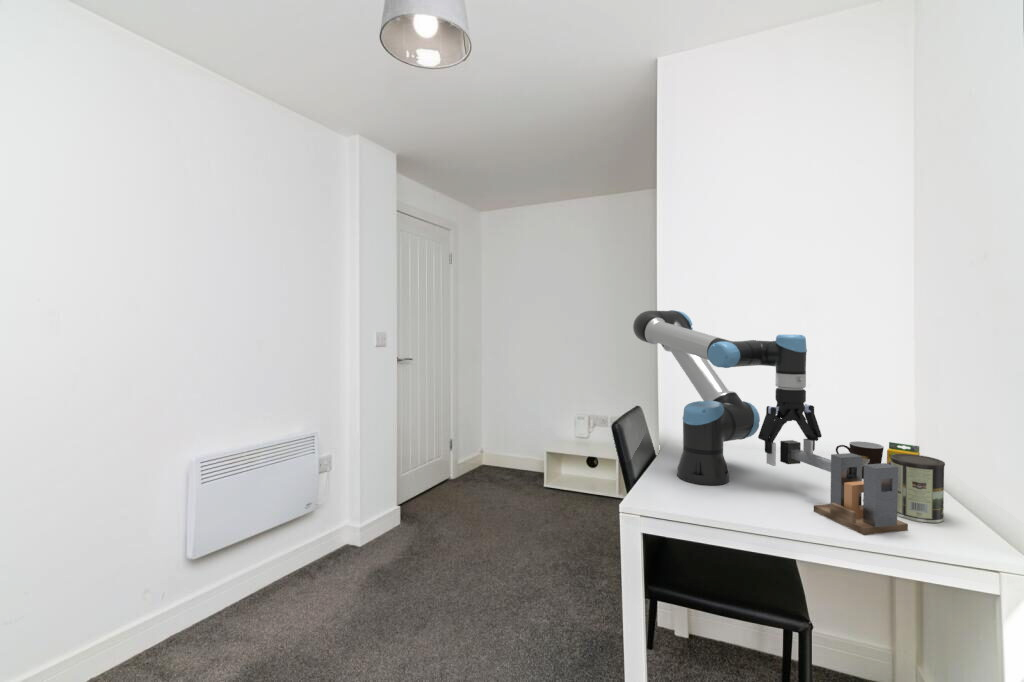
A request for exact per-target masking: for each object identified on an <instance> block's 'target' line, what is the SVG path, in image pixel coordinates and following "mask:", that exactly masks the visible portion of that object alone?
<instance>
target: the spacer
mask: <svg viewBox="0 0 1024 682" xmlns="http://www.w3.org/2000/svg"><path fill="white" fill-rule="evenodd" d="M859 493H862V494H863V493H864V480H862V481H857V482H847V483H844V507H845V508H848V509H850V510H852V511H855V512H856V518H862V517H863V504H861V505H860V506H859Z"/></svg>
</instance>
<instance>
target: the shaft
mask: <svg viewBox="0 0 1024 682" xmlns="http://www.w3.org/2000/svg"><path fill="white" fill-rule="evenodd" d="M801 447H802V445H801V442H799V441H798V440H793V439H791V440H790V439H789V440H780V447H779V449H780V452H779V455H780V456H779V457H780V458H779V459H780V460H779V462H781V463H783V464H785V465H796V464H797V465H799V464H801V463H804V464H807V465H810V466H813V467H815V468H818V469H819V470H820V469H821V470H823V471H826V472H828V473H829V472H830V473H831V458H830V459H829V458H827V457H825V456H824V457H823V456H821V455H818V454H814V453H813V454H812V453H809V452H805V451H803V449H801ZM846 475H849V467H847V473H846Z"/></svg>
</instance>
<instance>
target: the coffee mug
mask: <svg viewBox="0 0 1024 682" xmlns="http://www.w3.org/2000/svg"><path fill="white" fill-rule="evenodd" d="M848 443H849V446H847V445H844V444H839V445H838V446H836V448H835V454H840V453H839V450H838V449H840V448H845V449H847V450H848V453H853V454H856V455H859V456H862V480H864V465H867V464H881V463H882V461H883V456H884V455H883V454H884V447H885V446H884V445H882V444H879V443H874V442H869V441H860V440H859V441H856V440H855V441H854V440H853V441H850V442H848Z"/></svg>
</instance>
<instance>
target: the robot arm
mask: <svg viewBox="0 0 1024 682" xmlns="http://www.w3.org/2000/svg"><path fill="white" fill-rule="evenodd" d="M692 326H693V323H692V320H691V318H690V317H689V315H687V314H686V313H685V312H682V311H677V310H675V309H674V310H646V311H643V312H641V313H639V314H638V315H637V316H636V318H634V321H633V327H632V328H633V334H634V335H635V337H636V338H637V339H639V340H640V341H642V342H645V343H648V344H650V345H658V344H660V345H661V346H662V348H663V350H664V351H666V352H669V353H670V352H671V354H672V355H673V357H674V359H675V360H676V361H677V363H678V365H679V367H681V369H682V371H683V372H684V373H685V375H686V376H687V379H689V381H690V383H691V384H692V386H693V387H694V389H695V390H696V391H697V393H698V395H699V396H700V398H701V399H702V400H699V401H692V402H690V403H687V404H686V405H685V406H684V408H683V414H682V444H683V446H682V454H681V457H680V459H679V462H678V465H677V467H676V468H677V469H676V471H677V475H676V476H677V477H678V478H679V479H681V480H683V481H686V482H687V483H692V484H697V485H704V486H718V485H719V486H720V485H724V484H727V483H729V481H730V471H729V469H728V466H727V462H726V460H725V456H724V442H730V441H735V440H736V441H738V440H745V439H747V438H750V437H752V436H754V435H755V434H756V433H757V432H758V430H759V427H760V422H761V418H760V413H759V411H758V409H757V408H756V407H755V405H753V404H752V403H751V402H747V401H745V400H744V401H742V399H741V398H740V396H739V395H738V393H737V392H736V391H731V390H729V389H728V388H727V387H726V385H725V384H724V382H723V381H722V379H721V378H720V377H719V375H718V374H717V372H716V371H715V370H714V369H713V367H712V366H714V367H717V368H723V369H727V368H728V369H729V368H736V367H750V366H751V367H753V366H765V367H775V387H777V388H776V389H775V400H776V401H775V402H776V406H771V405H767V406H766V410H765V411H766V412H765V416H764V419H763V421H762V425H761V428H760V431H759V432H758V433H759V434H758V437H757V438H758V439H759V440H761V441H764V452H765V453H766V464H767V465H771V466H773V467H776V464H777V458H776V457H777V456H776V455H777V442H774V441H775V440H776V438H777V436H778V434H779V433H780V432H781V429H782V428H783V426H784V425H785V424H787V422H792V421H794V422H796V424H797V425H798V427H799V428H800V430H801V432H802V433H803V435H804V437H805V438H803V449H802V451H805V452H809V453H812V454H814V451H815V448H816V447H815V446H816V442H818V440H819V439H820V438H822V433H821V429H820V426H819V423H818V420H817V418H816V415H815V406H814V405H811V404H806V403H805V402H807V395H806V394H807V391H806V389H805V388H806V387H807V366H806V365H807V352H808V350H807V341H806V336H804V335H803V334H778V335H776V337H775V340H772V341H769V340H756V339H755V340H754V339H749V340H742V341H741V340H738V341H734V340H728V339H726V338H721V337H718V336H714V335H712V334H711V335H710V334H707V333H705V332H704V333H703V332H700V331H697V330H693V327H692ZM709 362H710V363H711V364H710V363H709Z"/></svg>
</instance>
